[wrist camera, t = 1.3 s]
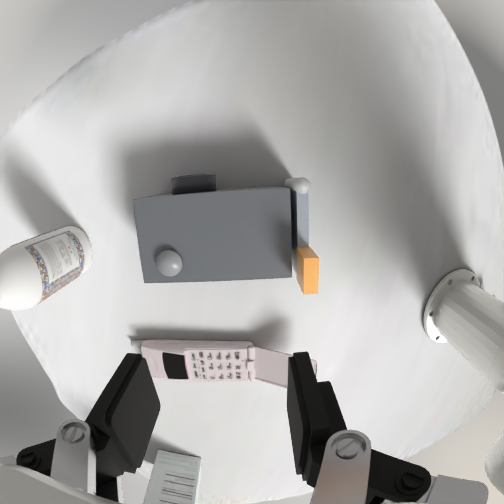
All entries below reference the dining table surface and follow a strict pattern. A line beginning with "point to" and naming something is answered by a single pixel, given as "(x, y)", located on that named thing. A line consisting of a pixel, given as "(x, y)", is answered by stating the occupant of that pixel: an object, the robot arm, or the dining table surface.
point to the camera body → (214, 232)
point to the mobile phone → (215, 361)
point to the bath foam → (42, 267)
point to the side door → (302, 236)
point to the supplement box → (174, 479)
